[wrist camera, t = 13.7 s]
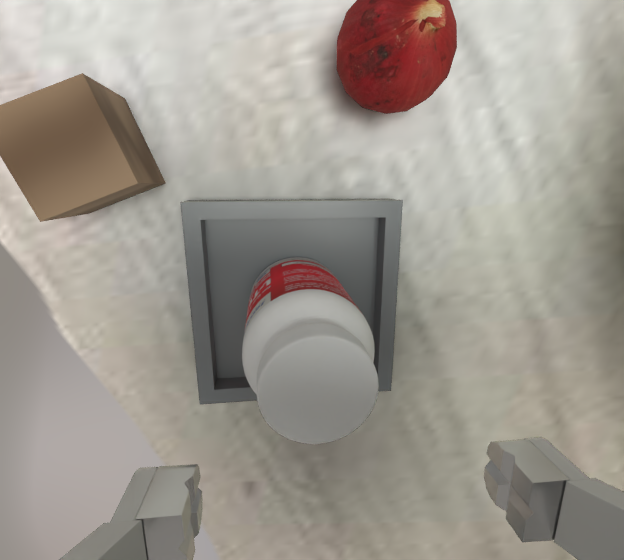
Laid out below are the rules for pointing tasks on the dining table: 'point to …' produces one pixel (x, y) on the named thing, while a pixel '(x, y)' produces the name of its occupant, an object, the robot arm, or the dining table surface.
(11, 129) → the walnut block
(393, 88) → the red round piece
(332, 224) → the tray
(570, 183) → the dining table surface
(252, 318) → the pill bottle
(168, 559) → the robot arm
